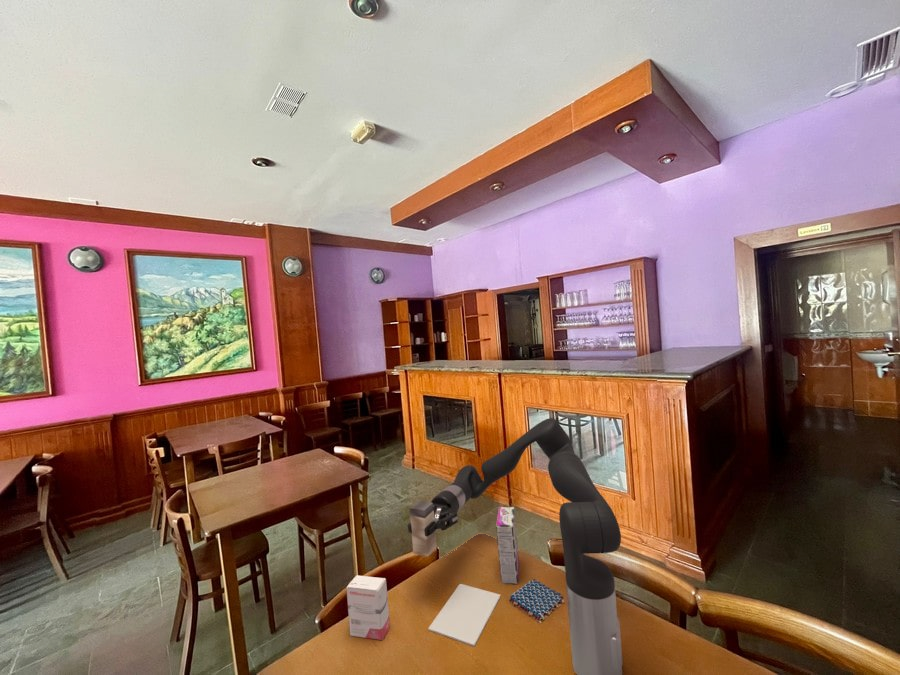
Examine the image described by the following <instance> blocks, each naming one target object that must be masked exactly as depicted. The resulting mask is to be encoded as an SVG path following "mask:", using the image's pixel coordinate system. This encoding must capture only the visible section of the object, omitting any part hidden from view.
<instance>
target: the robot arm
mask: <svg viewBox="0 0 900 675" xmlns="http://www.w3.org/2000/svg"><path fill="white" fill-rule="evenodd" d="M571 440H572V439H571V438H570V436H569V435H568V434H567V433H566V430H564V428H563V427H562V426H561V424H560V423H559V422H558V420H557V419H555V418H551V417H549V418H546V419H544V420H542V421H540V422H538V423H537V424H536V425H534V426H533V427H531V428H530V429H528V431H527V432H525V433H524V434H522V435H521V436H520V437H519V438H518V439H516V440H515V441H514V442H513V443H511V444H510V445H509V446H507V447H506V448H505V449H503V450H502V451H500V452H499V453H497V454H494V455H493V456H492V457H490V458H488V459H486V460H485V461H483V462H482V464H481V472H482V476H483V479H482V477H481V474H480V473H479V472H478V470H477V468H476V467H475V466H474V465H472V464H471V465H470V464H468V465H464V466H463V467H461V468H460V469H459V471H458V472H457V474H456V476H455V477H454V478H455V479H454V481H453V482H452V483H451V484H450V485H448V486H447V487H445V488H444V489H442V490H441V491H440V492H439V493H438V494H436V495H435V496H434V497H433V498H432V499H431V501H430V502H431V503H433V508H434V520H433V522H431V523H430V524H429V525H428V526H427V527H425V529H424V531H425V536H427V537H428V536H429V535H431V534H432V533H433V532H434V531H435V532H436V531H438V530H441V531H446V530H447V529H449V528H451V527H452V526H454V525H455V524H457V523H459V521H458V520H459V519H458V512H459V511H460V510H462V508H463V506H465V504H467V502H468V501H469V500H470V499H473V500H474V499H478V498H479V497H481V496H482V495H483V494H484V493H485V491H486V490H488V488H489V487H490V486H491V485H493V484H494V483H495V482H497V481H498V480H501V479H502V478H504V477H506V476H507V475H509V474H510V473H512V472H513V471H514V470H515V469H516V467H517V466H518V464H519V462H520V459H521V457H522V456H523V454H524V452H525V451H526V449H527V448H528V447H529V446H531V445H532V444H534V443H536V444H537V445H538V447H539V448H540V449H541V450H542V451H543V453H544V455H545V456H546V457H547V458H548V459H549V461H548V465H547V469H548V474H549V478H550V481H551V484H552V487H553V488H554V489H555V491H556V492H557V493H558V494H559V495H560V496H561V497H563V498H564V499H565V500H567V501H569V502H563V503H562V504H561V506H560V507H559V512H558V513H559V514H558V516H559V527H560V534H561V542H562V551H563V559H564V561H563V562H564V572H565V584H566V596H567V599H566V600H567V607H568V608H567V609H568V611H567V612H568V623H569V624H568V625H569V635H570V647H571V659H572V661H571V663H572V669H573V671H574V673H576V674H577V675H623V669H622V665H624V664H623V653H622V652H623V651H622V640H621V628H620V627H621V626H620V619H619V618H618V610H617V598H616V584H615V583H616V582H615V576H614V573H613V571H612V569H611V568H610V567H609V566H608V565H607V564H606V563H605V562H603V561H601V560H599V559H597V558H596V557H592V556H590V555H587V554H610V553H614V552H616V551H618V549H619V548H620V547H621V544H622V543H621V542H622V534H621V529H620V524H619V522H618V520H617V518H616V515H615V513H614V511H613V510H612V508H611V506H610V504H609V503H608V502H607V500H606V498H604V496H603V495H602V494H601V493H600V491H599V490H598V489H597V487H596V486H595V484H594V483H593V480H592V479H591V477H590V475H589V473H588V471H587V468H586V467H585V465H584V463H583V461H582V460H581V458H580V457H579V456H578V455H577V454H576V453H575V451H574V450H575V449H574V447H573V442H572V441H571ZM407 531H408V533H409V534H412V529H411V521H410V522H409V523H407ZM576 674H575V675H576Z"/></svg>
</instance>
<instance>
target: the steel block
mask: <svg viewBox="0 0 900 675" xmlns="http://www.w3.org/2000/svg"><path fill="white" fill-rule="evenodd" d="M409 516H410V522H411V529H412V533H411V540H412V542H411V543H412V554H414V555H416V556H417V555H418V556H422V557H425V558H429V556H431V555H432V554H433V553H434V551H435V550H436V549H437V548H438V547H437V535H436V534H437V533H436V531H434V532H433V533H432V534H431V535H429V536H428V537H427V536H425V531H424V529H425V527H427V526H428V525H429V524H430V523H431V522H433V520H434V508H433V503H431V501H425V500H418V501H417V502H415V503H414V504H413V505H412V506H410V507H409Z"/></svg>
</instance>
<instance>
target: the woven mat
mask: <svg viewBox="0 0 900 675" xmlns="http://www.w3.org/2000/svg"><path fill="white" fill-rule="evenodd" d="M508 602H509V603H510V604H512V605H513V607H517V609H519V610H520V611H522V612H524V613H525V614H526V615H527V616H529V617H530V618H532V619H533V620H535V621H536V622H538V623H540V624H541V623H542V621H541V620H545V619H548V616H550V615H551V613H553V611H555V610H556V608H559V607H561V606H562V605H561V604H564V602H565V600H564V596H563V595H561V593H560V592H556V590H555V589H551V587H550V586H546V584H545V583H541V581H539V580H538V581H537V580H536V578H533V579H532V580H529V581H528V583H525V584H524V585H523V586H521V588H518V589H517V590H516V591H514V592H513V593H512V594H510V596H509V599H508ZM560 603H561V604H560Z"/></svg>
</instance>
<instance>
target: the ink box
mask: <svg viewBox="0 0 900 675" xmlns="http://www.w3.org/2000/svg"><path fill="white" fill-rule="evenodd" d="M387 587H388V586H387V578H385V577H374V576H366V575H355V576H354V577H353V579H352V580H350V582H349V583H348V585H347V586H346V600H347V612H348V613H347V614H348V624H349V635H350V637H358V638H366V639H372V640H378V641H382V640H384V638H385V637H386V635H387V633H388V632H389V629H390V627H391V621H390V620H391V619H390V611H389V609H390V608H389V598H388V589H387Z"/></svg>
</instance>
